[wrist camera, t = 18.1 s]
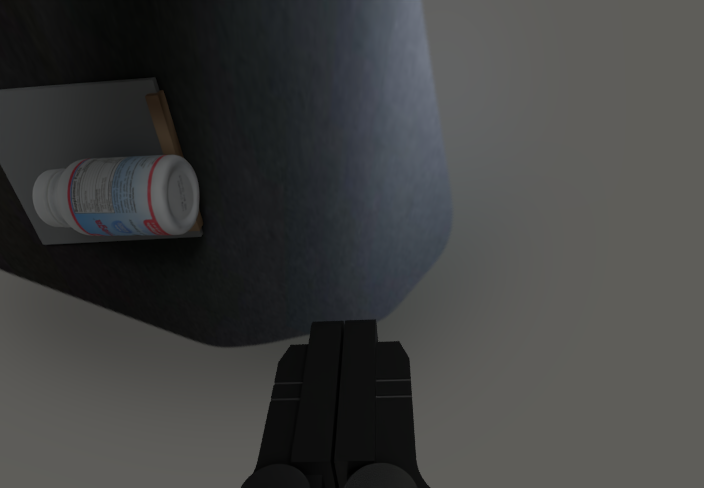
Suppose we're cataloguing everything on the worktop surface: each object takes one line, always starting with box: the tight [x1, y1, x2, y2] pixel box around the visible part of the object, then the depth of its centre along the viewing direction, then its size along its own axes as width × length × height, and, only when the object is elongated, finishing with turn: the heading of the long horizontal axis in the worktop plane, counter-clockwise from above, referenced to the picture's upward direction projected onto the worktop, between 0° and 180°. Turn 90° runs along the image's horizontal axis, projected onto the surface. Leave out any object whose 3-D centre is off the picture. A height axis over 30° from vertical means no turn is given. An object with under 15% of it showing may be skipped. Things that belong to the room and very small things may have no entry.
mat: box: [0, 77, 203, 245], centre depth 42 cm, size 14×15×1 cm
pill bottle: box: [32, 155, 199, 236], centre depth 39 cm, size 6×6×11 cm
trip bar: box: [145, 90, 204, 231], centre depth 41 cm, size 12×1×1 cm, turn 5°
